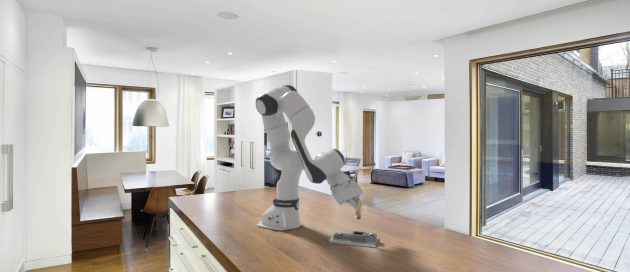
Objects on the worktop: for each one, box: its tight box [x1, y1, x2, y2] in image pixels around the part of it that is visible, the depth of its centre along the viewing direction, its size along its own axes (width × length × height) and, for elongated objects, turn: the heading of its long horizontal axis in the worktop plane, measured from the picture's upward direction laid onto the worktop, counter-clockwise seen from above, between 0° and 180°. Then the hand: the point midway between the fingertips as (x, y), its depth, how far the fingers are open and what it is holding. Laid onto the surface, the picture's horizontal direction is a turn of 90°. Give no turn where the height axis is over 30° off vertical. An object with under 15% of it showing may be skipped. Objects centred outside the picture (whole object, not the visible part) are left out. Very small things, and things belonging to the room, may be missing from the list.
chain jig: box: [328, 230, 379, 248], centre depth 150 cm, size 20×12×4 cm, turn 73°
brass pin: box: [355, 199, 362, 220], centre depth 149 cm, size 2×2×8 cm
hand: (359, 207), depth 149 cm, fingers closed on brass pin, 2 cm apart
